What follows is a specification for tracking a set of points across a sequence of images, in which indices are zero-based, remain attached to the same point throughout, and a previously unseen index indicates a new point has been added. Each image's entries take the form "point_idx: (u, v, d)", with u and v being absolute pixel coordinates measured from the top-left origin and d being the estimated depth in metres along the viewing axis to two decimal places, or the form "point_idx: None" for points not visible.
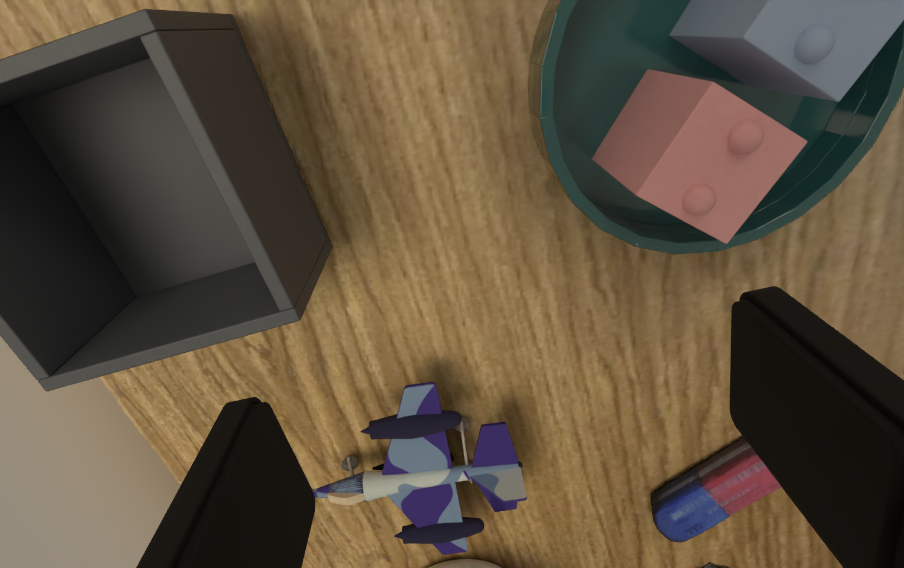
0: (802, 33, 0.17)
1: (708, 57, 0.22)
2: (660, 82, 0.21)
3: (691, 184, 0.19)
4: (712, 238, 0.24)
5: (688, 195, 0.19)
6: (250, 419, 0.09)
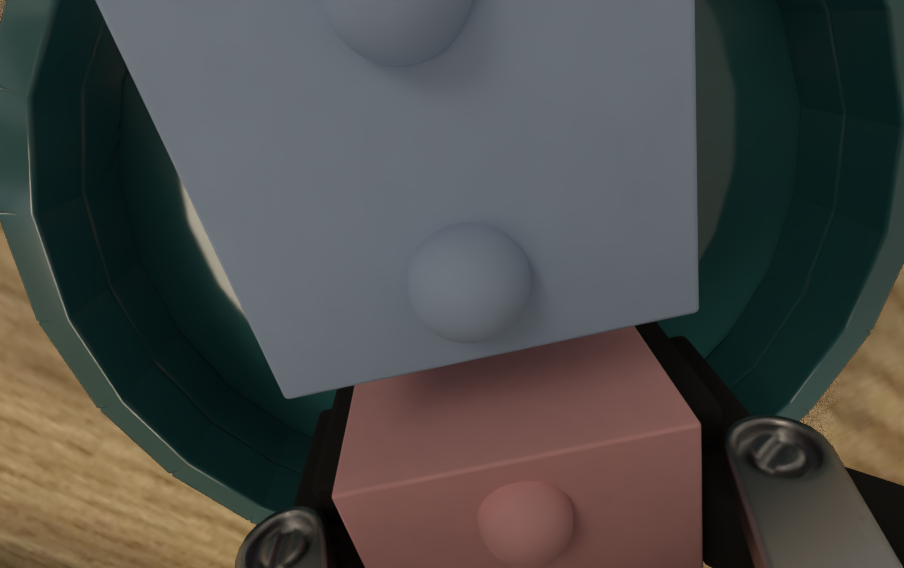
0: (405, 295, 0.05)
1: None
2: None
3: None
4: None
5: None
6: None
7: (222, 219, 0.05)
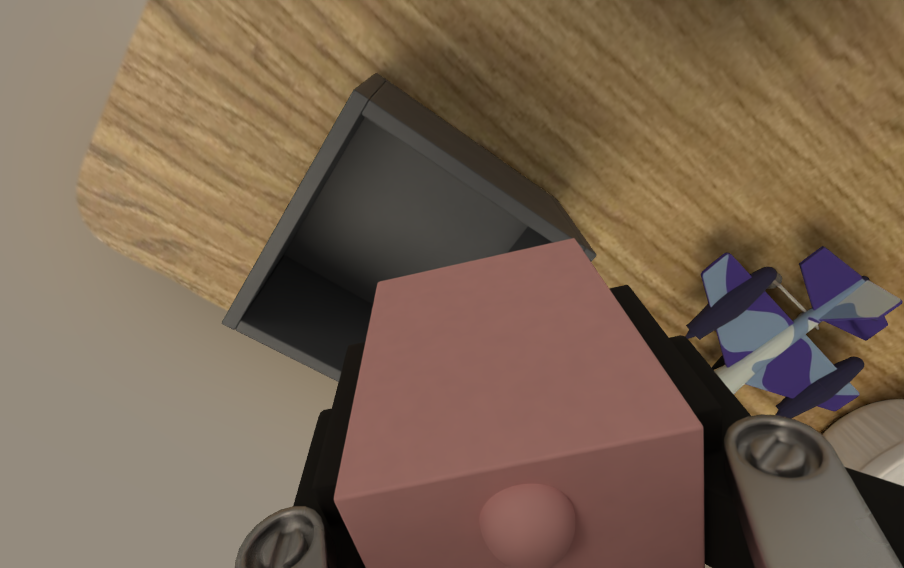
0: None
1: None
2: None
3: None
4: None
5: None
6: None
7: None
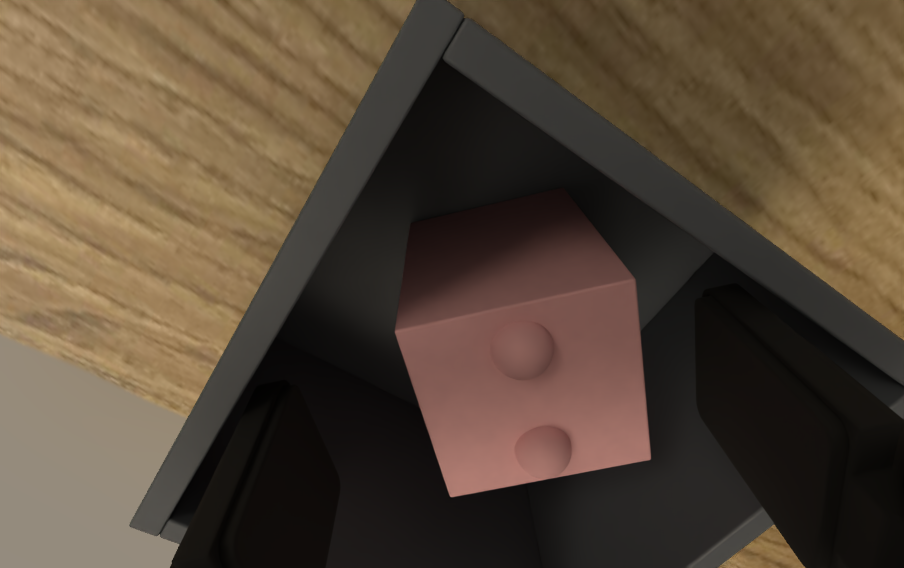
0: None
1: None
2: None
3: (512, 442, 0.11)
4: None
5: (519, 460, 0.11)
6: (281, 400, 0.10)
7: None
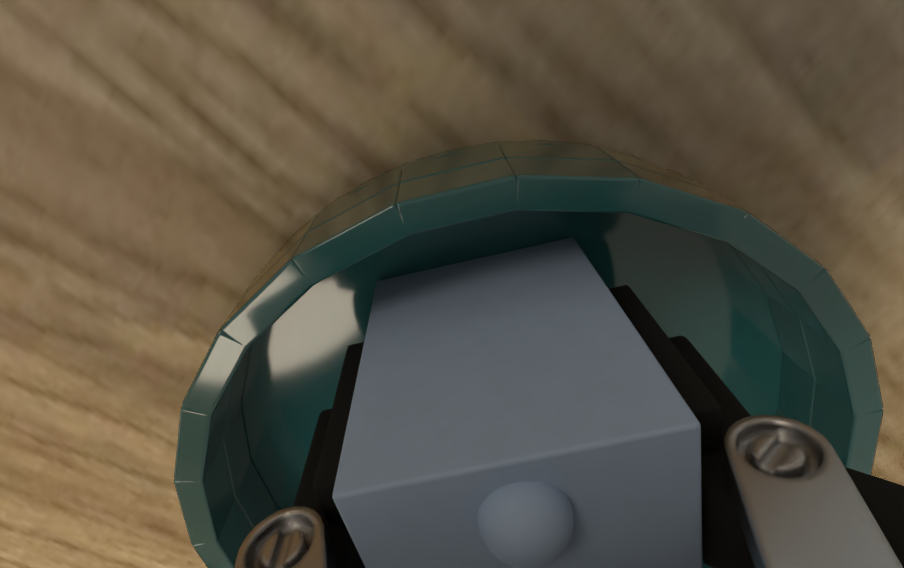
0: None
1: None
2: None
3: None
4: None
5: None
6: None
7: None
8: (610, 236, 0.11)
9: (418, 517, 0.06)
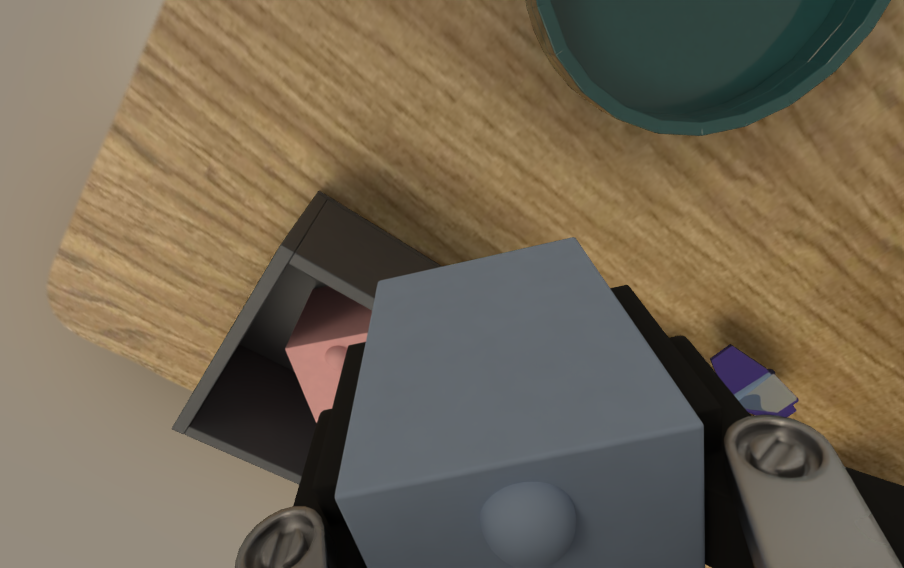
0: None
1: None
2: None
3: None
4: (820, 63, 0.22)
5: None
6: None
7: None
8: None
9: (420, 517, 0.06)
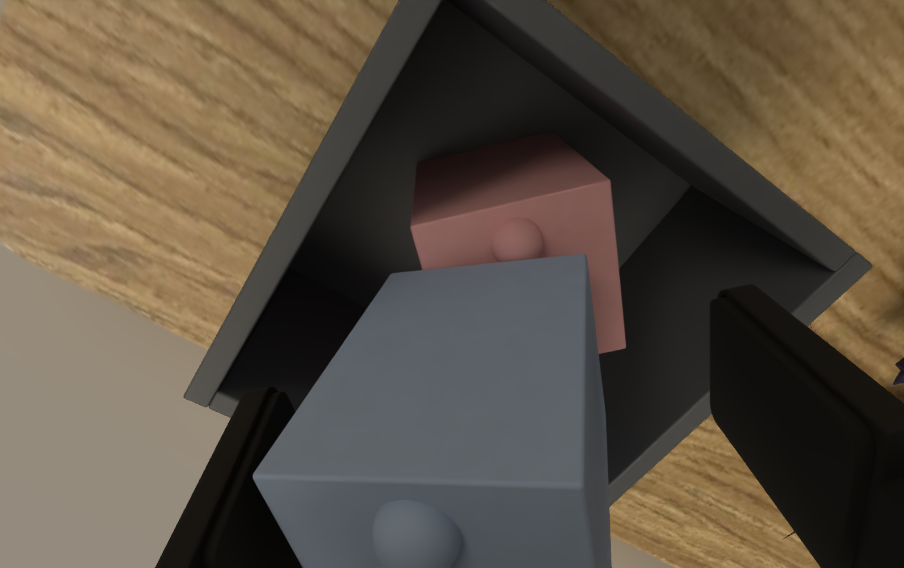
0: None
1: None
2: None
3: None
4: None
5: None
6: (269, 407, 0.10)
7: None
8: None
9: (324, 509, 0.07)
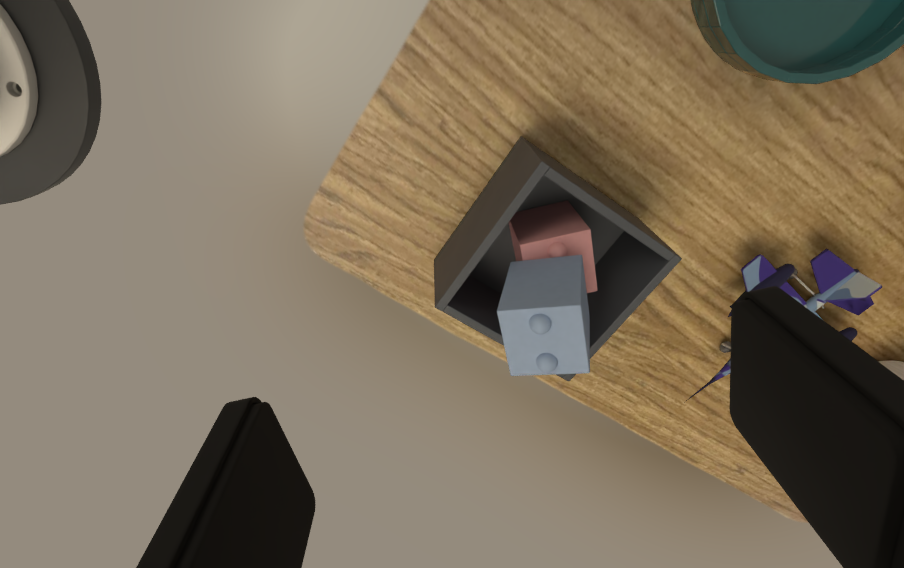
0: (535, 362, 0.29)
1: None
2: (512, 230, 0.36)
3: None
4: None
5: None
6: (250, 419, 0.09)
7: (508, 346, 0.29)
8: None
9: (515, 319, 0.28)
